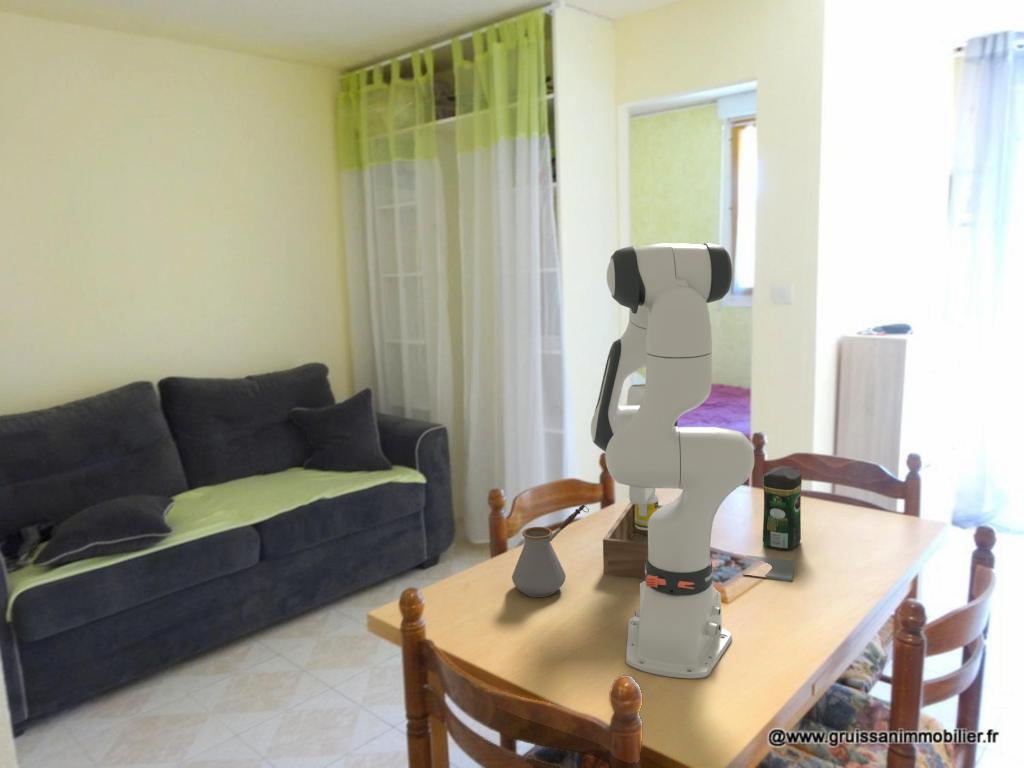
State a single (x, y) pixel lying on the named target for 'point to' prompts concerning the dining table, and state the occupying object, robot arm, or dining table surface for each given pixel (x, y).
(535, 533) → the coffee pot
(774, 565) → the coaster
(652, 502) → the supplement bottle
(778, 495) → the coffee jar
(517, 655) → the dining table surface
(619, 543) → the crate
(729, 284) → the robot arm
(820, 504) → the dining table surface
